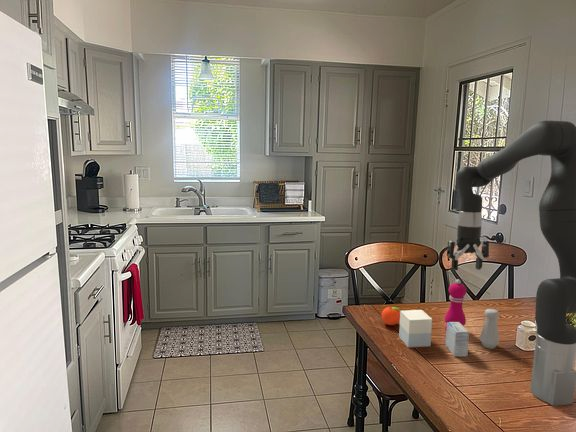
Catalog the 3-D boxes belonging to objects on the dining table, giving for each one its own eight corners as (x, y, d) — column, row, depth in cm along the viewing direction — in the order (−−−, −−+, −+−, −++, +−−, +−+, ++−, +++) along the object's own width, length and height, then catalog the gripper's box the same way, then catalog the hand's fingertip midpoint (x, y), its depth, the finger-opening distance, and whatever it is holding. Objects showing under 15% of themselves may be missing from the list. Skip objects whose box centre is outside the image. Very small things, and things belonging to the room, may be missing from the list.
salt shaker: (500, 350, 135) (504, 314, 133) (482, 349, 136) (485, 312, 134) (495, 342, 141) (498, 307, 139) (477, 341, 142) (480, 306, 140)
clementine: (399, 320, 159) (400, 303, 158) (404, 328, 152) (405, 310, 151) (379, 320, 159) (379, 303, 157) (383, 328, 152) (384, 310, 151)
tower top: (431, 332, 138) (432, 319, 137) (408, 334, 137) (409, 320, 136) (420, 322, 146) (421, 309, 145) (399, 323, 145) (400, 310, 144)
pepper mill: (440, 331, 150) (444, 279, 146) (448, 325, 155) (452, 275, 151) (460, 337, 145) (464, 284, 141) (467, 330, 150) (472, 279, 147)
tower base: (430, 346, 138) (431, 332, 138) (408, 347, 138) (408, 334, 137) (420, 335, 146) (421, 322, 145) (399, 336, 145) (399, 323, 145)
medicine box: (467, 357, 131) (469, 332, 130) (453, 356, 131) (455, 332, 130) (457, 345, 139) (459, 321, 138) (444, 345, 139) (446, 321, 138)
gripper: (455, 226, 136) (452, 273, 138) (495, 225, 137) (492, 271, 140) (444, 222, 143) (442, 267, 146) (482, 222, 145) (479, 266, 147)
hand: (466, 269), depth 143 cm, fingers open, 8 cm apart
